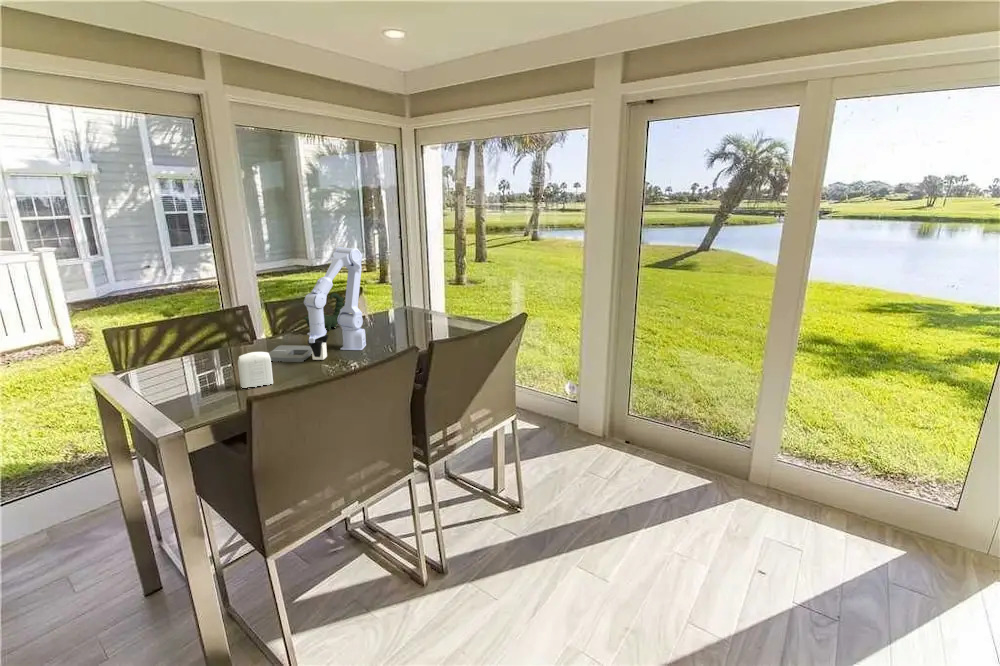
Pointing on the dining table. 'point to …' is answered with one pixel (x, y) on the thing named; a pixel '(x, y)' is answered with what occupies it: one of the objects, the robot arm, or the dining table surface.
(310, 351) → the socket plate
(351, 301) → the robot arm
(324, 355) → the block
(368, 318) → the dining table surface
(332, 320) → the toy figurine
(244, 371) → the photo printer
